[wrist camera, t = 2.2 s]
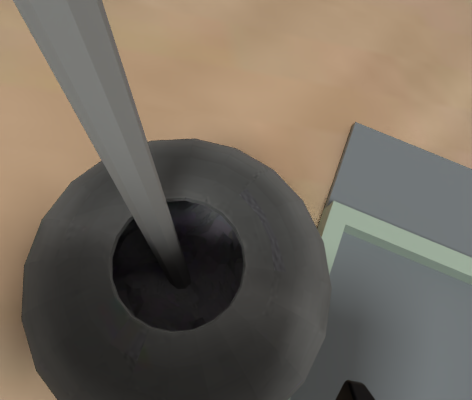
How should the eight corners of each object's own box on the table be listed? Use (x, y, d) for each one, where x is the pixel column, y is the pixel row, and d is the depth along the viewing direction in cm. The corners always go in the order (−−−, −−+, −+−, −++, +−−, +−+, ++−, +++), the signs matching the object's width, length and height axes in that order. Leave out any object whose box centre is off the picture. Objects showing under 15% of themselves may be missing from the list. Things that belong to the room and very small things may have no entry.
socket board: (464, 624, 18) (492, 656, 16) (218, 517, 18) (220, 537, 17) (530, 199, 25) (554, 189, 23) (351, 126, 25) (363, 112, 24)
